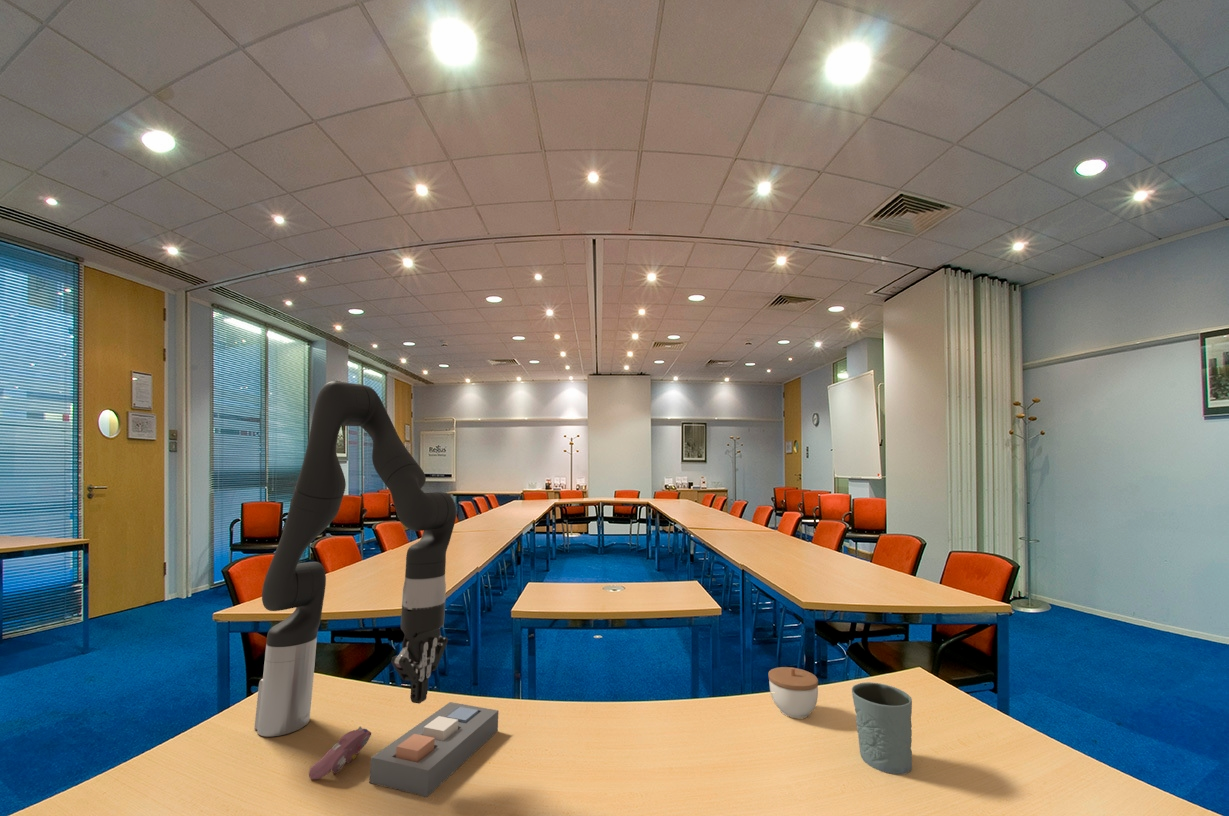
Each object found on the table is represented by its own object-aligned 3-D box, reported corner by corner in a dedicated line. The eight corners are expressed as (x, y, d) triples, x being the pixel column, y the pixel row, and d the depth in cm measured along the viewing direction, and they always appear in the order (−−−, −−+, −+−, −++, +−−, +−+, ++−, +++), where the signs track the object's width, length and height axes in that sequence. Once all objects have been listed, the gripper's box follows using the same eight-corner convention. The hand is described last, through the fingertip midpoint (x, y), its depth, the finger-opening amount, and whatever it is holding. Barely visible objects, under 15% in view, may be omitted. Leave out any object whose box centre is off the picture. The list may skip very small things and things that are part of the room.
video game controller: (323, 793, 83) (342, 756, 83) (303, 777, 84) (322, 740, 84) (363, 760, 92) (380, 727, 93) (345, 746, 93) (362, 713, 94)
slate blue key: (445, 730, 97) (446, 716, 98) (459, 719, 101) (459, 706, 102) (464, 733, 96) (465, 720, 96) (477, 722, 100) (478, 710, 100)
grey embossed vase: (909, 752, 94) (904, 686, 95) (924, 783, 84) (918, 709, 86) (852, 742, 97) (848, 679, 99) (859, 771, 87) (855, 700, 89)
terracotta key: (395, 762, 84) (396, 746, 85) (413, 748, 88) (414, 733, 89) (416, 766, 83) (417, 751, 83) (434, 752, 87) (434, 737, 87)
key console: (369, 782, 83) (371, 757, 84) (449, 721, 104) (450, 702, 105) (427, 796, 80) (428, 770, 80) (497, 731, 100) (498, 710, 101)
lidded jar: (762, 702, 114) (760, 660, 115) (804, 700, 115) (803, 658, 117) (782, 725, 104) (780, 678, 105) (829, 722, 105) (827, 676, 106)
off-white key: (422, 741, 91) (423, 727, 91) (438, 729, 95) (438, 716, 95) (442, 745, 89) (443, 731, 90) (457, 733, 94) (458, 719, 94)
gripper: (430, 591, 97) (426, 684, 94) (380, 608, 84) (373, 715, 82) (462, 594, 94) (458, 689, 92) (415, 611, 82) (409, 721, 79)
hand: (418, 701), depth 87 cm, fingers closed
